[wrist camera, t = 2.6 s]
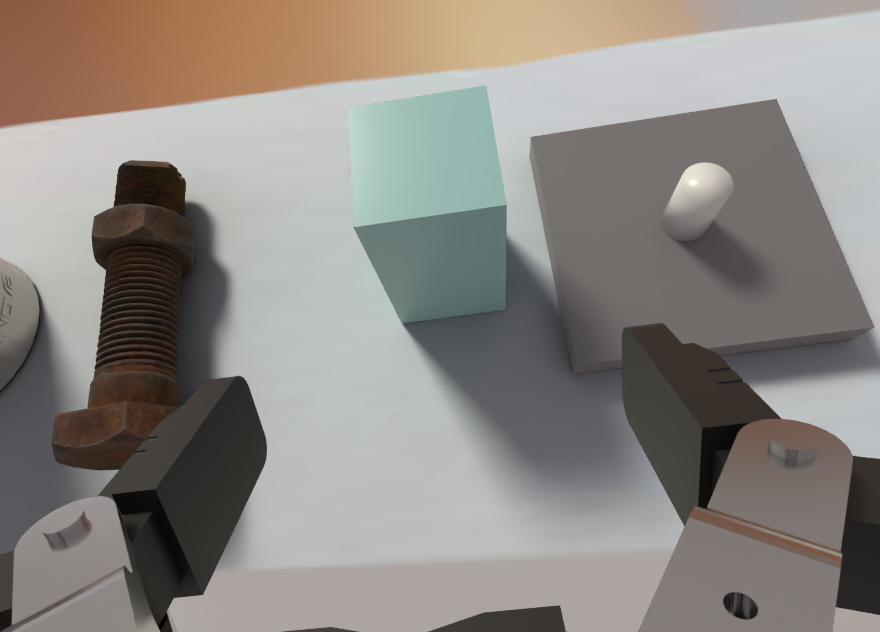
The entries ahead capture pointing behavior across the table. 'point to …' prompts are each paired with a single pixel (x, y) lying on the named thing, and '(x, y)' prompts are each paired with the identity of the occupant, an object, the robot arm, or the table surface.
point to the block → (431, 202)
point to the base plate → (703, 279)
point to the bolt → (133, 319)
